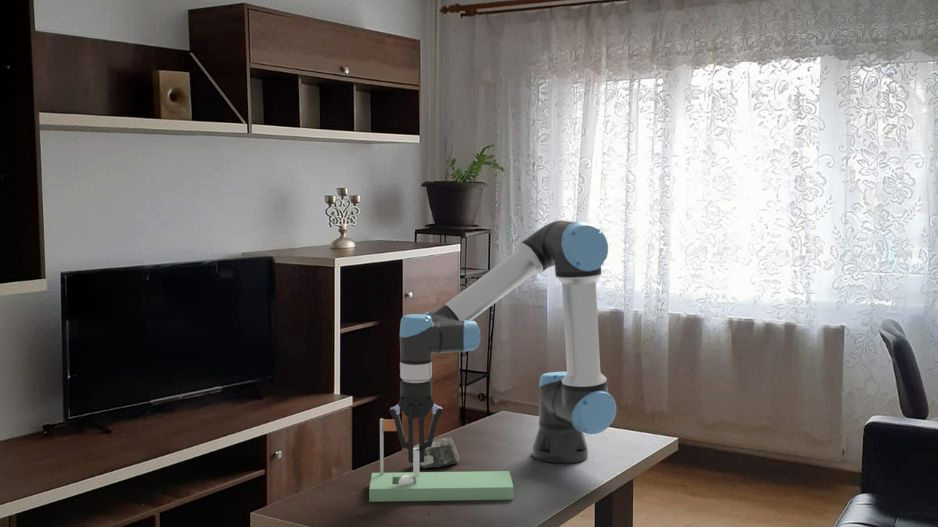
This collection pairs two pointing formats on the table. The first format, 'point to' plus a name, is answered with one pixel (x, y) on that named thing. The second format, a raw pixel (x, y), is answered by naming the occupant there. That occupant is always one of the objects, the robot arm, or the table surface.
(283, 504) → the table surface
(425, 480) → the green
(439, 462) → the stone
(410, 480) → the ball
